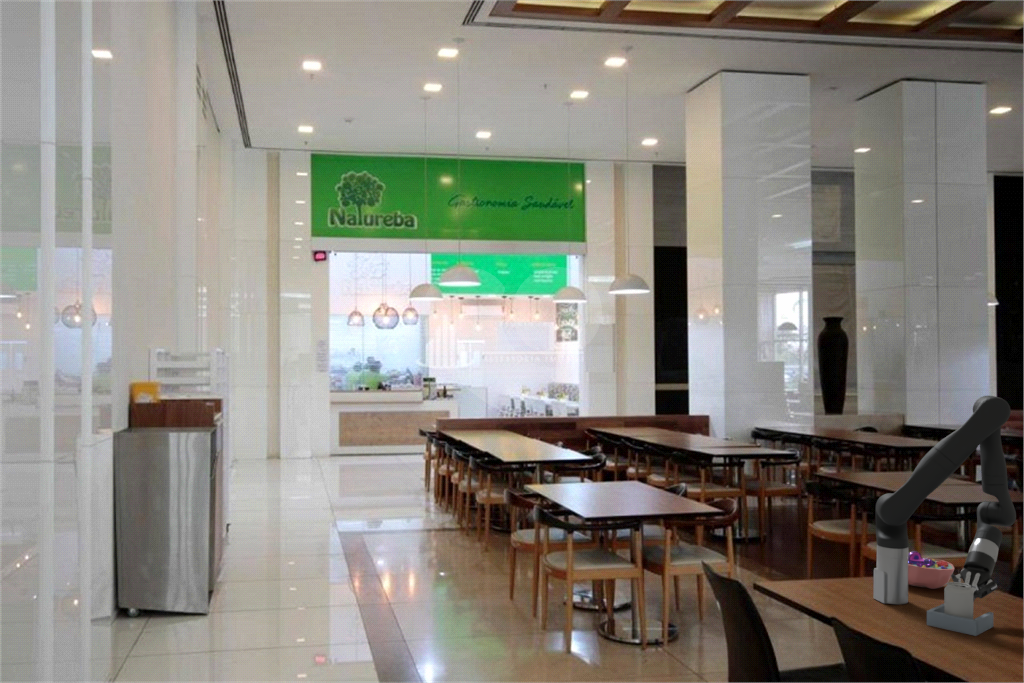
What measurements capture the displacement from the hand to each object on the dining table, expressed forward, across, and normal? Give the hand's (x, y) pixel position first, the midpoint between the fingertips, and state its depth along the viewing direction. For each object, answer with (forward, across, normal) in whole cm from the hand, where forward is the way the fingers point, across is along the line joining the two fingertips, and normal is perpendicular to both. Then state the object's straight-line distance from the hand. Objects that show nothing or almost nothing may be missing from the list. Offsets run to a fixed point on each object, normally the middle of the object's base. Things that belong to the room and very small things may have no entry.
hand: (965, 606), depth 265 cm
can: (+6, 0, 0) cm, 7 cm away
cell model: (-19, -26, +27) cm, 42 cm away
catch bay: (+6, 0, +1) cm, 6 cm away
